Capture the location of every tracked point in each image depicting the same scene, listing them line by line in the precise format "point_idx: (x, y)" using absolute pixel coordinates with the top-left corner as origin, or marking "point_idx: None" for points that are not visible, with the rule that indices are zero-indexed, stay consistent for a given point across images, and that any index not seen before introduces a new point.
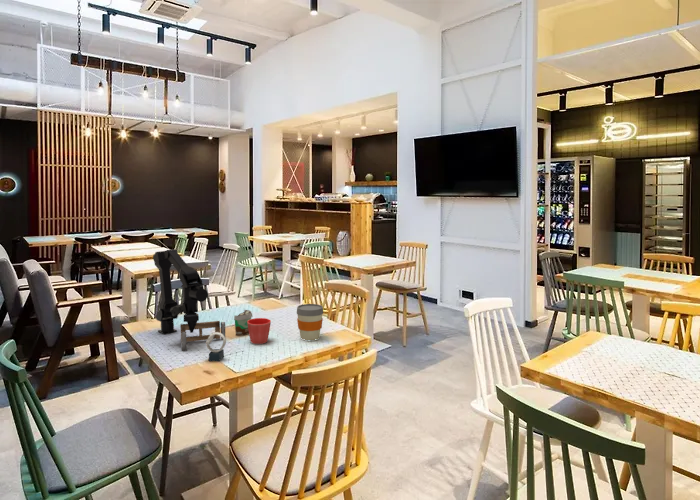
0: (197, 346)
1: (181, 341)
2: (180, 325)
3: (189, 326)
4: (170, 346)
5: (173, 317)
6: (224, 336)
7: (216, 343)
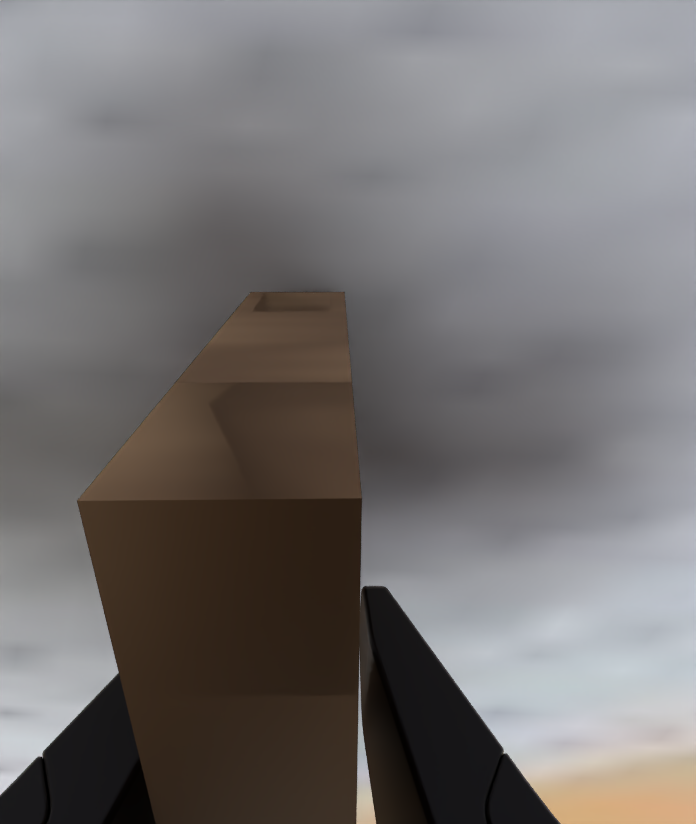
0: (79, 527)
1: (244, 303)
2: (353, 464)
3: (42, 774)
4: (179, 43)
5: None
6: None
7: None
